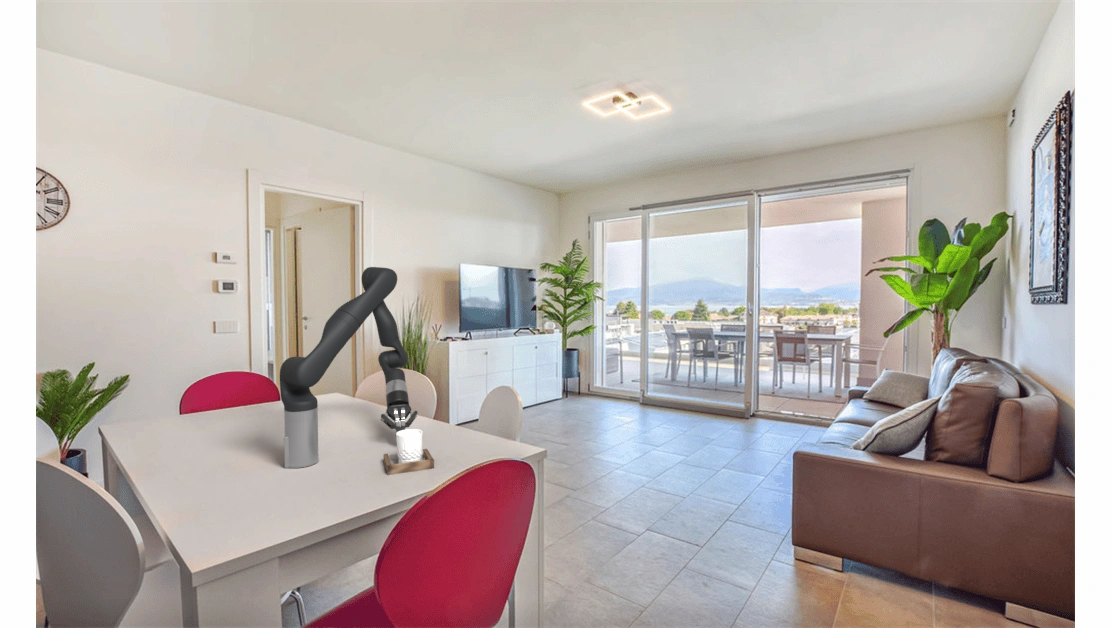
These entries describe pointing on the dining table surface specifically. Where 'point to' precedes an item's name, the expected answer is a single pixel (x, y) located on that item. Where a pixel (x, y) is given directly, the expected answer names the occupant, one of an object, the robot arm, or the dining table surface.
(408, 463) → the wooden bracket
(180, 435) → the dining table surface
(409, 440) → the white cup
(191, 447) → the dining table surface
